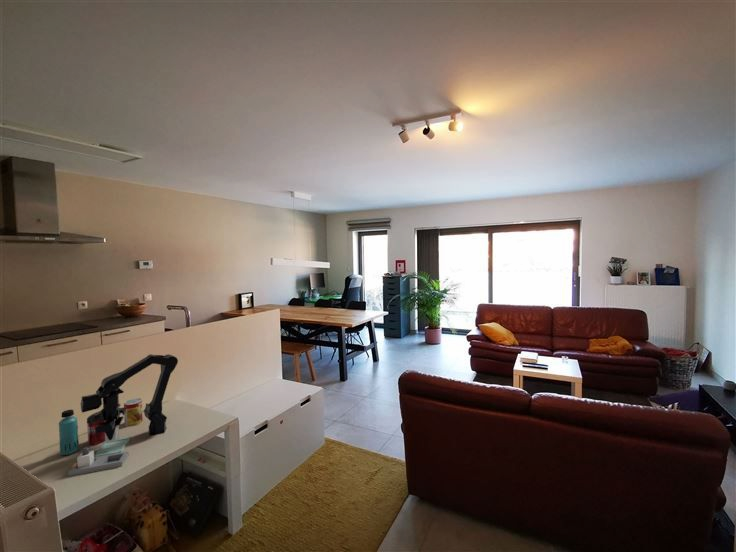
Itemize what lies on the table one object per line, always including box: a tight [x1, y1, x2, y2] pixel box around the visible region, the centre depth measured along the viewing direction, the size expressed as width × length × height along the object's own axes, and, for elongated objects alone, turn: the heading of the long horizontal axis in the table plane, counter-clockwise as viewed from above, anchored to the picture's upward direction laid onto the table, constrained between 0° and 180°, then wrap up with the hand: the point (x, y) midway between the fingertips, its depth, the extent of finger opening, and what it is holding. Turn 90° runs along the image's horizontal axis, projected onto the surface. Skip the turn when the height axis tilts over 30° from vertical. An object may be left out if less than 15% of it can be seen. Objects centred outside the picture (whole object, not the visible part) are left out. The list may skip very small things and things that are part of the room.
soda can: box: [86, 420, 105, 446], centre depth 155 cm, size 7×7×12 cm
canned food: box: [123, 397, 144, 428], centre depth 173 cm, size 8×8×12 cm
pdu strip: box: [68, 451, 129, 477], centre depth 136 cm, size 18×8×3 cm, turn 110°
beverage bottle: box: [58, 409, 80, 456], centre depth 145 cm, size 6×7×20 cm
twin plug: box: [76, 446, 95, 468], centre depth 135 cm, size 4×4×8 cm
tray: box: [94, 436, 132, 457], centre depth 150 cm, size 13×10×1 cm
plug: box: [104, 425, 120, 444], centre depth 149 cm, size 4×4×8 cm
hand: (112, 437), depth 149 cm, fingers closed on plug, 4 cm apart
